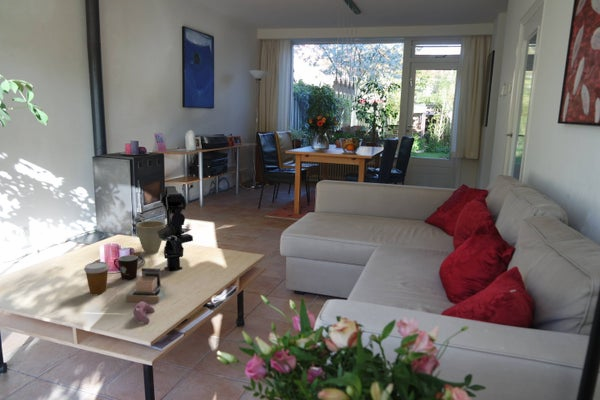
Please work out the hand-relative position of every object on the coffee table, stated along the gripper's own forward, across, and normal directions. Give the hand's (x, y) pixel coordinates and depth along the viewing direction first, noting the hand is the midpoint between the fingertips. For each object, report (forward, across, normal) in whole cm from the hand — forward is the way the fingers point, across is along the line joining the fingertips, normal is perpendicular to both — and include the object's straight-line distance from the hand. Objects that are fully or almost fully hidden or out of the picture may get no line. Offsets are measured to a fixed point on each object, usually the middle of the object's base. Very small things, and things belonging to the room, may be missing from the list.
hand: (176, 253), depth 203 cm
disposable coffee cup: (+12, -9, -33) cm, 36 cm away
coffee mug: (+12, -16, -16) cm, 26 cm away
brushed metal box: (+12, +11, -21) cm, 26 cm away
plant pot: (+12, -44, +13) cm, 47 cm away
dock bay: (+12, +12, -22) cm, 28 cm away
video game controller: (+12, +27, -32) cm, 44 cm away
